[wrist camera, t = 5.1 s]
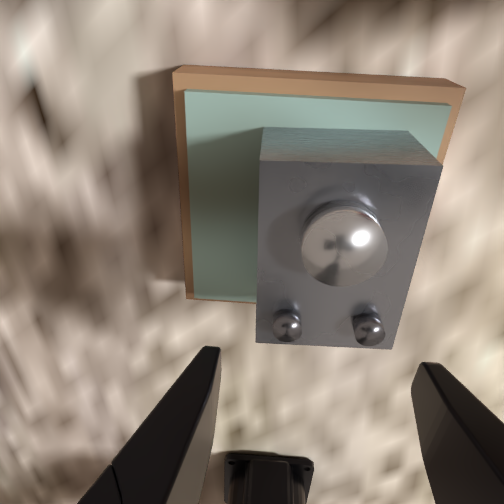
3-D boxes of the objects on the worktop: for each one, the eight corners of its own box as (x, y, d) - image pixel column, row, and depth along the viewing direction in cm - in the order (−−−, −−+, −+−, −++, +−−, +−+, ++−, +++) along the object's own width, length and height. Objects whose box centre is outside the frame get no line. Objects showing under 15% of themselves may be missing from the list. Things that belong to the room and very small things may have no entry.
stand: (386, 287, 20) (398, 320, 18) (193, 274, 21) (184, 305, 19) (445, 78, 15) (472, 90, 13) (184, 64, 15) (168, 74, 13)
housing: (372, 290, 17) (398, 370, 14) (259, 285, 18) (253, 363, 14) (408, 130, 14) (457, 179, 10) (263, 126, 14) (257, 173, 10)
